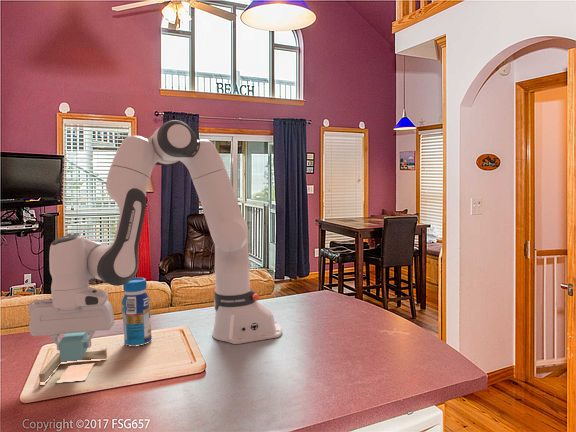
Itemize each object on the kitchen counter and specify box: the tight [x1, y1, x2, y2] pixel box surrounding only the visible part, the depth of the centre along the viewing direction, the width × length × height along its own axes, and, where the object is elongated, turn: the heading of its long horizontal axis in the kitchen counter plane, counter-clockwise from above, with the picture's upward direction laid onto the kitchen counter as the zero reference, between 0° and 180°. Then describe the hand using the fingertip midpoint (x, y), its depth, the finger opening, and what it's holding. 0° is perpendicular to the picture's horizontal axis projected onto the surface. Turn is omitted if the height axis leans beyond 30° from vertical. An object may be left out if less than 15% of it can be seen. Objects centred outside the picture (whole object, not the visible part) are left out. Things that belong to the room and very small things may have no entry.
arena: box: [38, 348, 108, 383], centre depth 118 cm, size 13×14×3 cm
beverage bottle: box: [121, 277, 153, 346], centre depth 137 cm, size 8×8×20 cm
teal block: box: [59, 332, 89, 362], centre depth 116 cm, size 9×5×5 cm, turn 15°
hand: (74, 348), depth 117 cm, fingers closed on teal block, 5 cm apart
